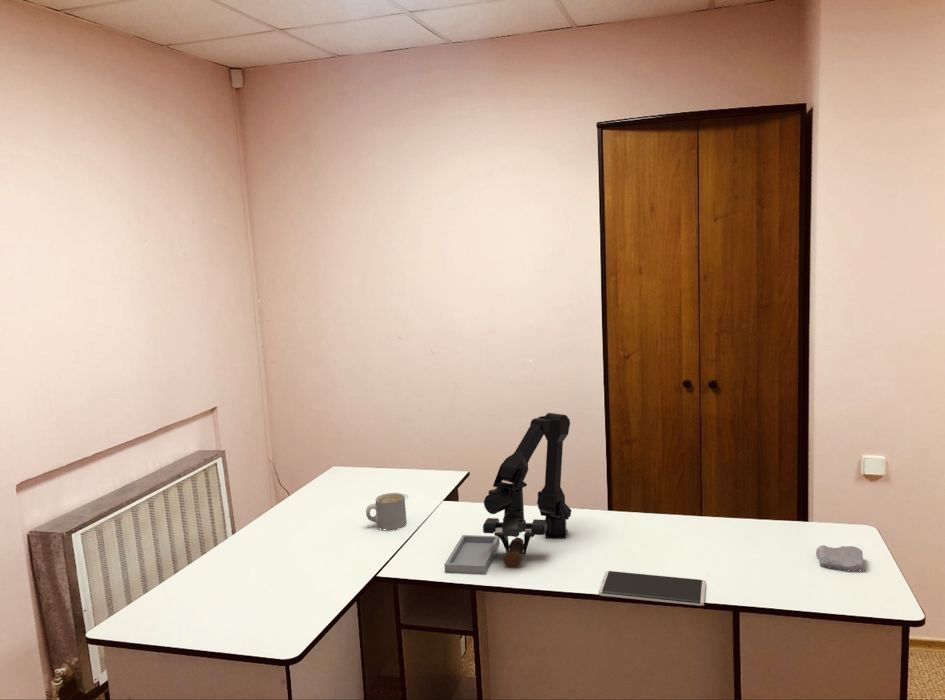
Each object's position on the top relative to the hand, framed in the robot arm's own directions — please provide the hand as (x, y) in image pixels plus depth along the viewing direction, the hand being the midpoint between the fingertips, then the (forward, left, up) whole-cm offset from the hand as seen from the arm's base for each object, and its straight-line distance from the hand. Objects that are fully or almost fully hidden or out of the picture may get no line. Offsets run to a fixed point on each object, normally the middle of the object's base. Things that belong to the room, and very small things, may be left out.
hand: (516, 553), depth 225 cm
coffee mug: (+49, -21, -1) cm, 53 cm away
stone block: (-91, -4, -2) cm, 91 cm away
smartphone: (-40, +17, -2) cm, 44 cm away
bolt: (0, 0, -1) cm, 1 cm away
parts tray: (+13, +2, -1) cm, 13 cm away
